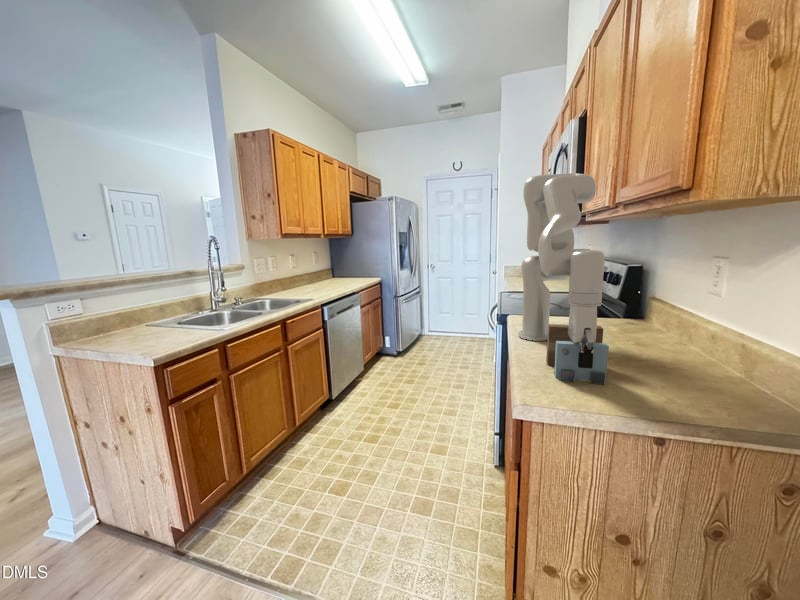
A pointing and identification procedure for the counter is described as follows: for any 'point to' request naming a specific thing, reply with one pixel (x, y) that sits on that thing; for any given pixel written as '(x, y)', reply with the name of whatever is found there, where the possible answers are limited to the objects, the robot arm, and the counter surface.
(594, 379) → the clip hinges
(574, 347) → the block
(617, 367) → the counter surface
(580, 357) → the robot arm
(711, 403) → the counter surface
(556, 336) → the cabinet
